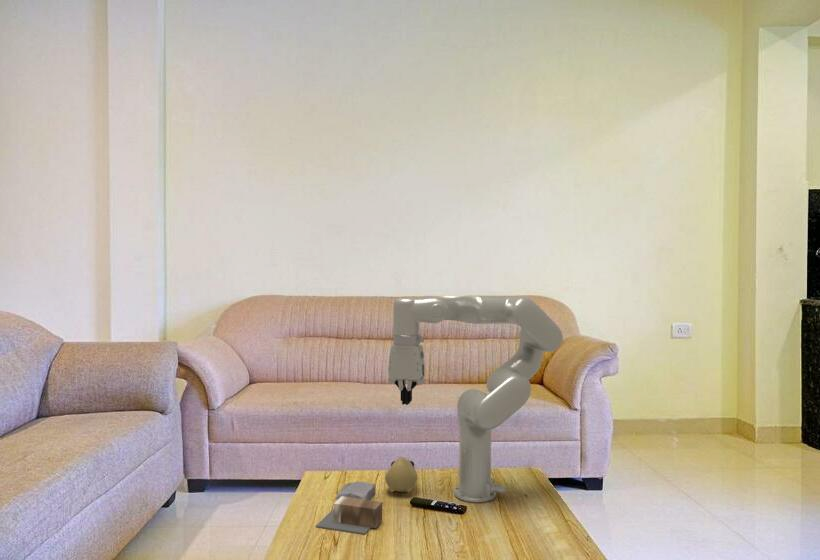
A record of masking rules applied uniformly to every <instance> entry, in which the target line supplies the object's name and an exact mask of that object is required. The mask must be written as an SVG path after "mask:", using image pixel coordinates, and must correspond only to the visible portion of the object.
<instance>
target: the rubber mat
mask: <svg viewBox="0 0 820 560" xmlns="http://www.w3.org/2000/svg"><path fill="white" fill-rule="evenodd" d="M315 528H318V529H326V530H332V531H339V532H345V533H352V534H355V535H356V534H357V535H364V536H365V535H367V534H368V532H369V531H370V530H371V529H372V528H371V527H365V526H358V525H351V524H344V523H338V522H334V508H333V509H332V510H330V511H329V512H328V513H327V514H326V516H324V517H323V518H322V519H321V520H320V521H319V522H318V523H316V525H315Z"/></svg>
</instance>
